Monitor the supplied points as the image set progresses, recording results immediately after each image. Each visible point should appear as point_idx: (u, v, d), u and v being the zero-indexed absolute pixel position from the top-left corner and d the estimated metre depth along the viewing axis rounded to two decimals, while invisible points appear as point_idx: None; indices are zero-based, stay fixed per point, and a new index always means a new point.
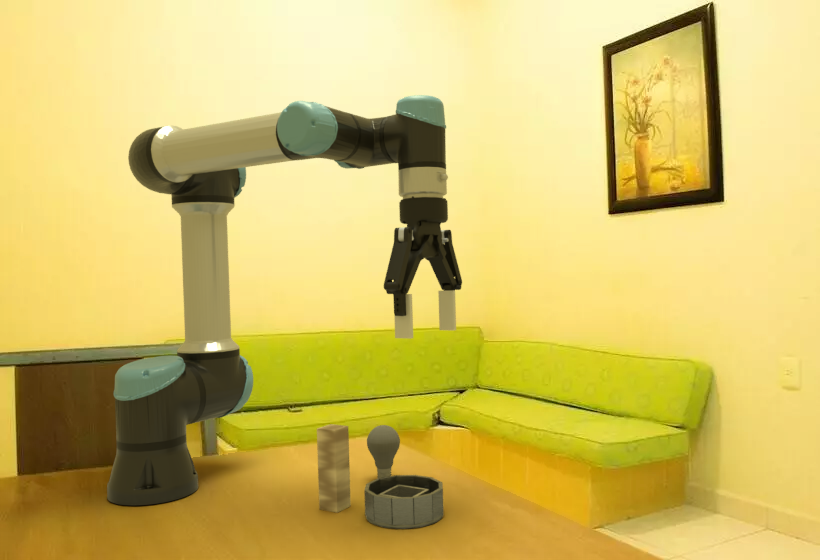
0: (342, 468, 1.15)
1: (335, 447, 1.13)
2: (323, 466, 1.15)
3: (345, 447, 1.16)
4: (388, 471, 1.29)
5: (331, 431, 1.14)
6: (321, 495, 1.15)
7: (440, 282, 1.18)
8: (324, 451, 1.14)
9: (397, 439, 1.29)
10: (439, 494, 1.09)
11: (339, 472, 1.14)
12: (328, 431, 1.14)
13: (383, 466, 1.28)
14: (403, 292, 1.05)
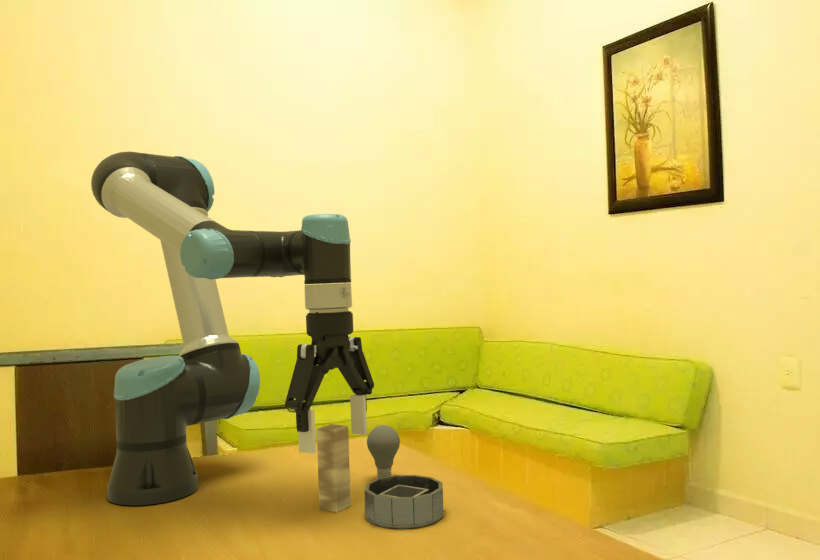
0: (342, 468, 1.15)
1: (335, 447, 1.13)
2: (323, 466, 1.15)
3: (345, 447, 1.16)
4: (388, 471, 1.29)
5: (331, 431, 1.14)
6: (321, 495, 1.15)
7: (351, 387, 1.21)
8: (323, 451, 1.14)
9: (397, 439, 1.29)
10: (439, 494, 1.09)
11: (339, 472, 1.14)
12: (328, 431, 1.14)
13: (383, 466, 1.28)
14: (304, 409, 1.08)
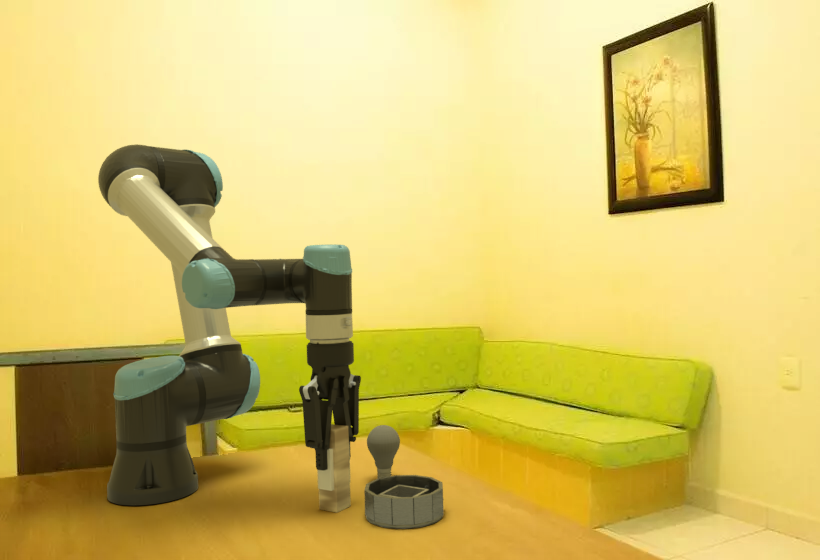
0: (342, 468, 1.15)
1: (335, 447, 1.13)
2: None
3: (345, 447, 1.16)
4: (388, 471, 1.29)
5: (331, 431, 1.14)
6: (321, 495, 1.15)
7: None
8: None
9: (397, 439, 1.29)
10: (439, 494, 1.09)
11: (339, 472, 1.14)
12: None
13: (383, 466, 1.28)
14: (325, 449, 1.12)
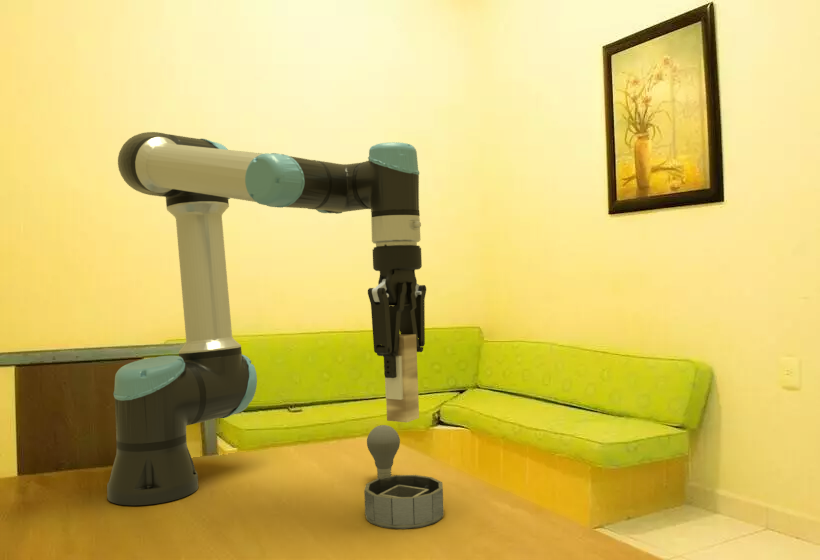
0: (411, 377, 1.10)
1: (404, 353, 1.08)
2: None
3: (413, 356, 1.11)
4: (388, 471, 1.29)
5: (400, 337, 1.09)
6: (389, 406, 1.10)
7: None
8: None
9: (397, 439, 1.29)
10: (439, 494, 1.09)
11: (408, 381, 1.09)
12: None
13: (383, 466, 1.28)
14: (394, 356, 1.08)
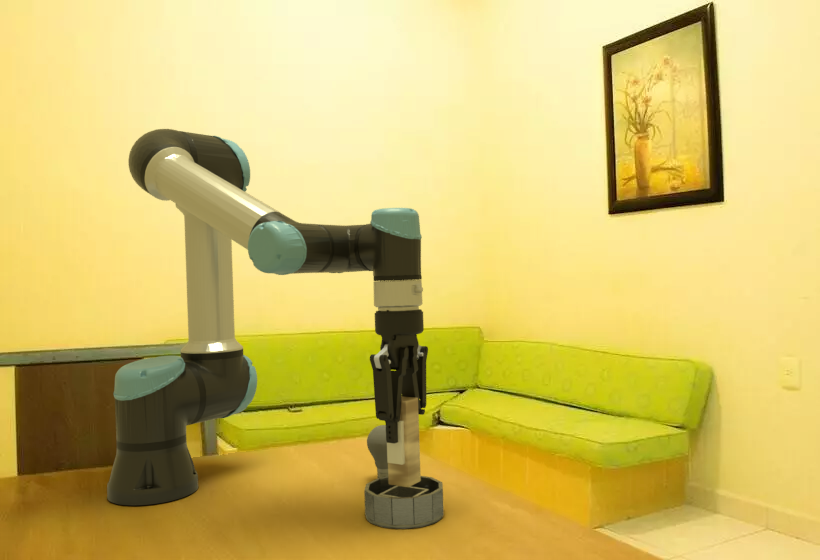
0: (412, 441, 1.10)
1: (406, 419, 1.09)
2: None
3: (415, 419, 1.11)
4: None
5: (402, 402, 1.09)
6: (391, 469, 1.10)
7: None
8: None
9: None
10: (439, 494, 1.09)
11: (410, 445, 1.09)
12: None
13: (383, 466, 1.28)
14: (396, 421, 1.08)
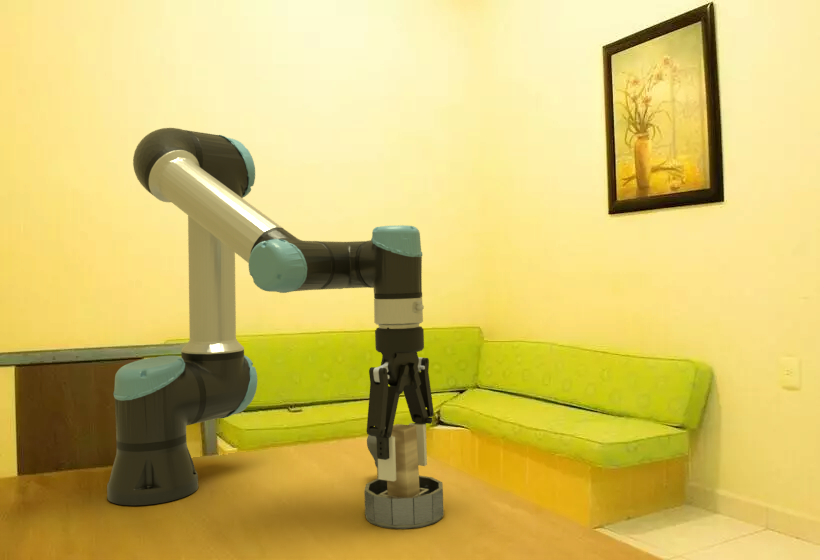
0: (411, 469, 1.10)
1: (405, 447, 1.09)
2: None
3: (414, 448, 1.11)
4: None
5: (400, 431, 1.09)
6: None
7: (411, 413, 1.15)
8: None
9: None
10: (439, 494, 1.09)
11: (409, 474, 1.09)
12: (397, 431, 1.09)
13: None
14: (386, 437, 1.06)
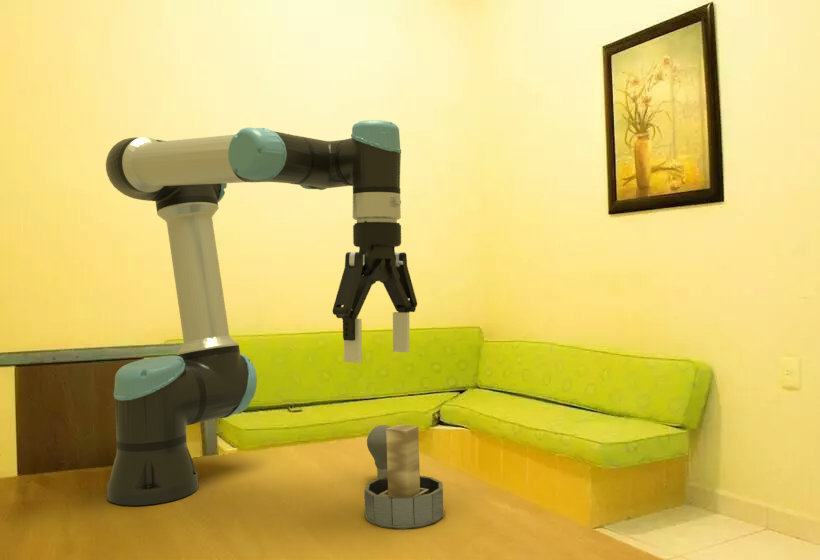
0: (413, 470, 1.10)
1: (406, 448, 1.09)
2: (393, 467, 1.10)
3: (415, 448, 1.11)
4: None
5: (402, 432, 1.09)
6: None
7: (394, 304, 1.19)
8: (394, 453, 1.10)
9: None
10: (439, 494, 1.09)
11: (410, 475, 1.09)
12: (399, 432, 1.09)
13: (383, 466, 1.28)
14: (352, 317, 1.05)
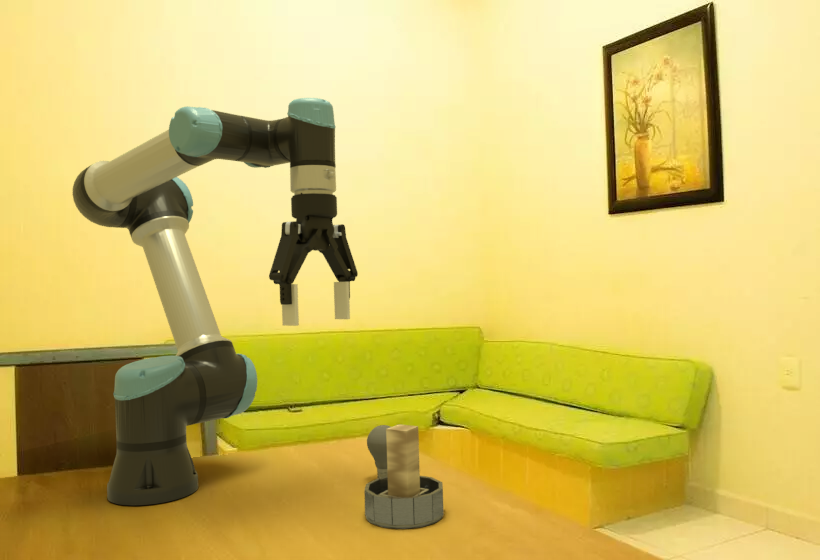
0: (412, 470, 1.10)
1: (406, 448, 1.09)
2: (393, 467, 1.10)
3: (415, 448, 1.11)
4: None
5: (402, 432, 1.09)
6: None
7: (335, 274, 1.25)
8: (394, 453, 1.10)
9: None
10: (439, 494, 1.09)
11: (410, 475, 1.09)
12: (399, 432, 1.09)
13: (383, 466, 1.28)
14: (288, 282, 1.12)
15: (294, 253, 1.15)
